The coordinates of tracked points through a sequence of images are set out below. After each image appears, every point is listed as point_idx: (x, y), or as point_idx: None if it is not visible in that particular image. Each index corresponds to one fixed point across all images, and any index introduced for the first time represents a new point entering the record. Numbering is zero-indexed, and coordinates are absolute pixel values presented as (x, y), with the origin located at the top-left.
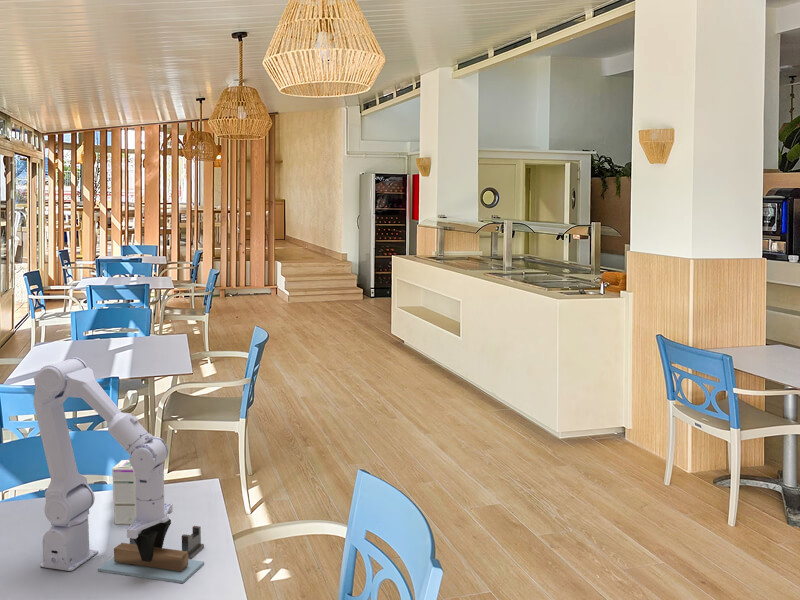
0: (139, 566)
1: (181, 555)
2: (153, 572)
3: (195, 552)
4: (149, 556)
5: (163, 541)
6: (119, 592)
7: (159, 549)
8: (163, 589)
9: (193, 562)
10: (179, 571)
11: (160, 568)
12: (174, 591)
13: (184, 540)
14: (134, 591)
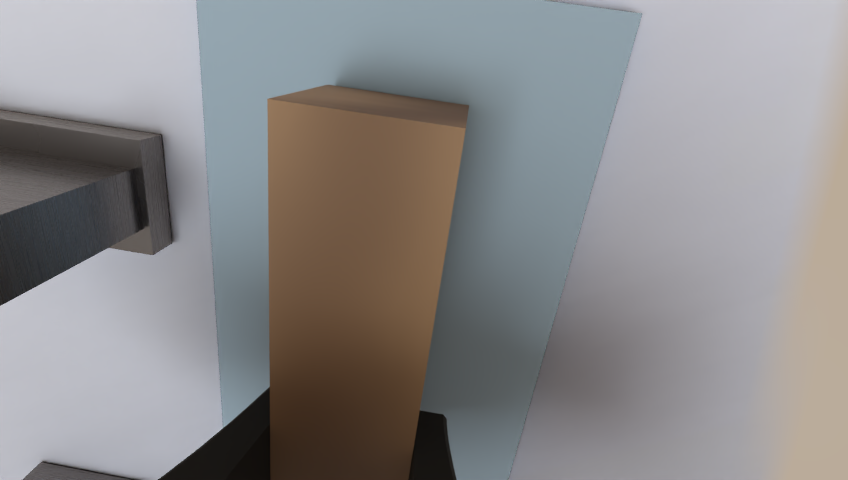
0: None
1: (401, 145)
2: (486, 333)
3: (64, 126)
4: (450, 461)
5: (200, 455)
6: (754, 443)
7: (306, 425)
8: (741, 161)
9: (244, 64)
10: None
11: None
12: (799, 38)
13: (21, 257)
14: (751, 363)
